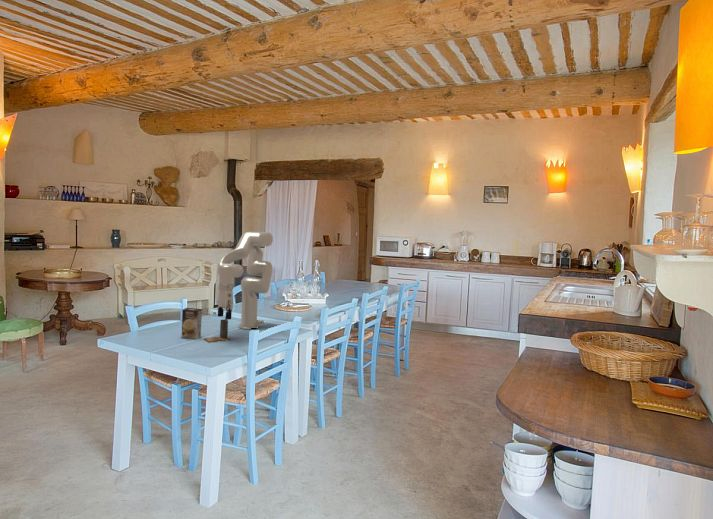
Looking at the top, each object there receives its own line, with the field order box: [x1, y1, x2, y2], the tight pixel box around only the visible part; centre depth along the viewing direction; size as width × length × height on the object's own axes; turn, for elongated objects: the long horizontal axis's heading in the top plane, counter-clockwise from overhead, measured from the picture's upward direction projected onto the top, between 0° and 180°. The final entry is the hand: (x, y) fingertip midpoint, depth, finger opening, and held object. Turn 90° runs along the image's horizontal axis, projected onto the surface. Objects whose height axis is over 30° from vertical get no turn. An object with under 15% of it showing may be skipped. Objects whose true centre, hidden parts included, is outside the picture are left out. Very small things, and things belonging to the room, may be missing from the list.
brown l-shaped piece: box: [203, 319, 231, 343], centre depth 275 cm, size 12×7×11 cm, turn 131°
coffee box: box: [180, 307, 203, 340], centre depth 278 cm, size 9×6×16 cm
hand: (224, 317), depth 276 cm, fingers open, 9 cm apart
